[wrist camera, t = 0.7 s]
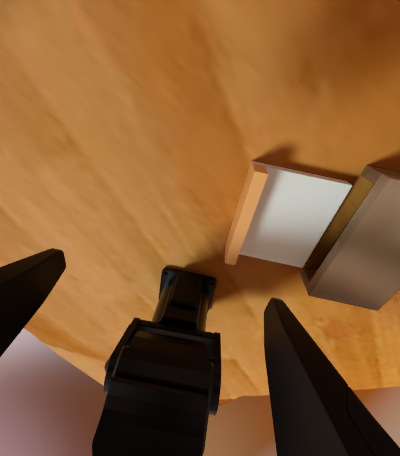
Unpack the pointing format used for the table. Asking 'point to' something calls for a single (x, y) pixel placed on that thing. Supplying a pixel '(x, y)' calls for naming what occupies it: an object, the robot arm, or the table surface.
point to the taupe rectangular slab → (364, 250)
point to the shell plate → (282, 214)
